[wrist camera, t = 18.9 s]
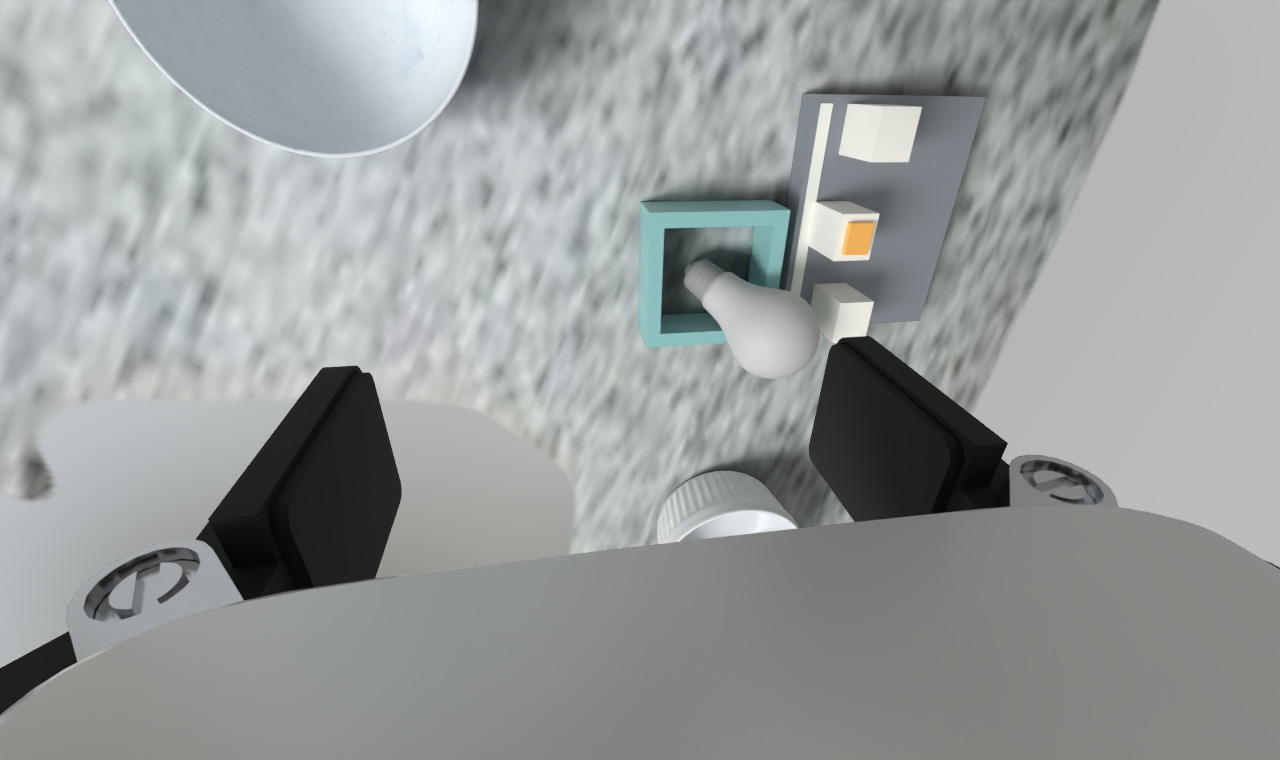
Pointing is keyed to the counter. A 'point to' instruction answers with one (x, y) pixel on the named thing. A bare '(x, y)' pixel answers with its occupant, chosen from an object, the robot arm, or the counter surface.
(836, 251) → the block
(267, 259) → the counter surface
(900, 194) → the breaker panel
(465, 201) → the counter surface
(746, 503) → the ramekin
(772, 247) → the socket
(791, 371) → the lightbulb
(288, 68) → the chinaware
